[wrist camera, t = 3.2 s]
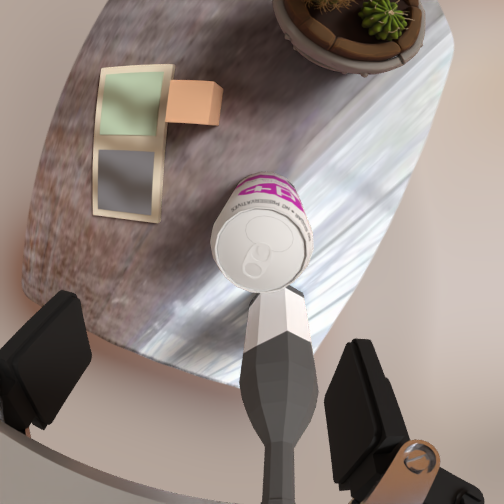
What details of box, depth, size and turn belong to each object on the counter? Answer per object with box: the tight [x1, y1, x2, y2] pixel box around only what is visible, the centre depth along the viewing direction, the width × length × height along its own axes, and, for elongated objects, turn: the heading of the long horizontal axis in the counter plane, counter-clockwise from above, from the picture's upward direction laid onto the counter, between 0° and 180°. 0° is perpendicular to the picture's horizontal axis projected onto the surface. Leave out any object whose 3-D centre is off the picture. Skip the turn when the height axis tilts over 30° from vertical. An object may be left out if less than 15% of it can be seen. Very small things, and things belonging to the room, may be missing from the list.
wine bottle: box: [239, 285, 318, 504], centre depth 28 cm, size 8×8×30 cm
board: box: [93, 64, 175, 223], centre depth 34 cm, size 20×10×1 cm, turn 172°
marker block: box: [165, 80, 223, 126], centre depth 29 cm, size 4×4×6 cm
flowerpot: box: [272, 0, 425, 77], centre depth 18 cm, size 14×15×20 cm
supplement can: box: [210, 172, 314, 293], centre depth 30 cm, size 8×8×15 cm
